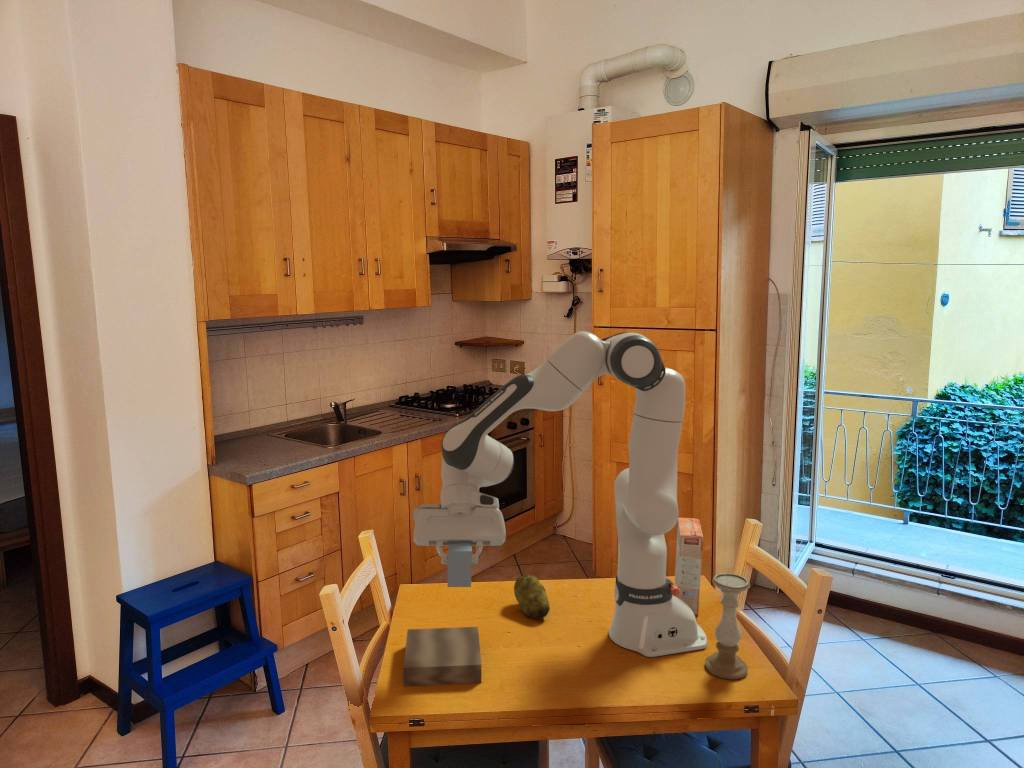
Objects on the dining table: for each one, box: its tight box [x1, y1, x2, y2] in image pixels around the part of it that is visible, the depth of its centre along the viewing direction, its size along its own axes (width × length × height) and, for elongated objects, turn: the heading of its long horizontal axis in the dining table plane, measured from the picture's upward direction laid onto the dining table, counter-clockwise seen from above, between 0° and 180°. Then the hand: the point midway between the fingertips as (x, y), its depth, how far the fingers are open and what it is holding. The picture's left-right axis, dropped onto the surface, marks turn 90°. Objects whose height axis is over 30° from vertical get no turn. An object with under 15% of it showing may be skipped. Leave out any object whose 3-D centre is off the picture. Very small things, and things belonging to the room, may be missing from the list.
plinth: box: [402, 626, 482, 687], centre depth 151 cm, size 16×16×4 cm
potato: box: [513, 573, 551, 620], centre depth 175 cm, size 8×13×8 cm, turn 4°
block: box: [446, 542, 473, 588], centre depth 150 cm, size 5×5×8 cm
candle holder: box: [704, 572, 751, 680], centre depth 149 cm, size 9×9×20 cm
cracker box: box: [673, 517, 704, 616], centre depth 179 cm, size 14×6×21 cm, turn 168°
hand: (459, 563), depth 149 cm, fingers closed on block, 5 cm apart
